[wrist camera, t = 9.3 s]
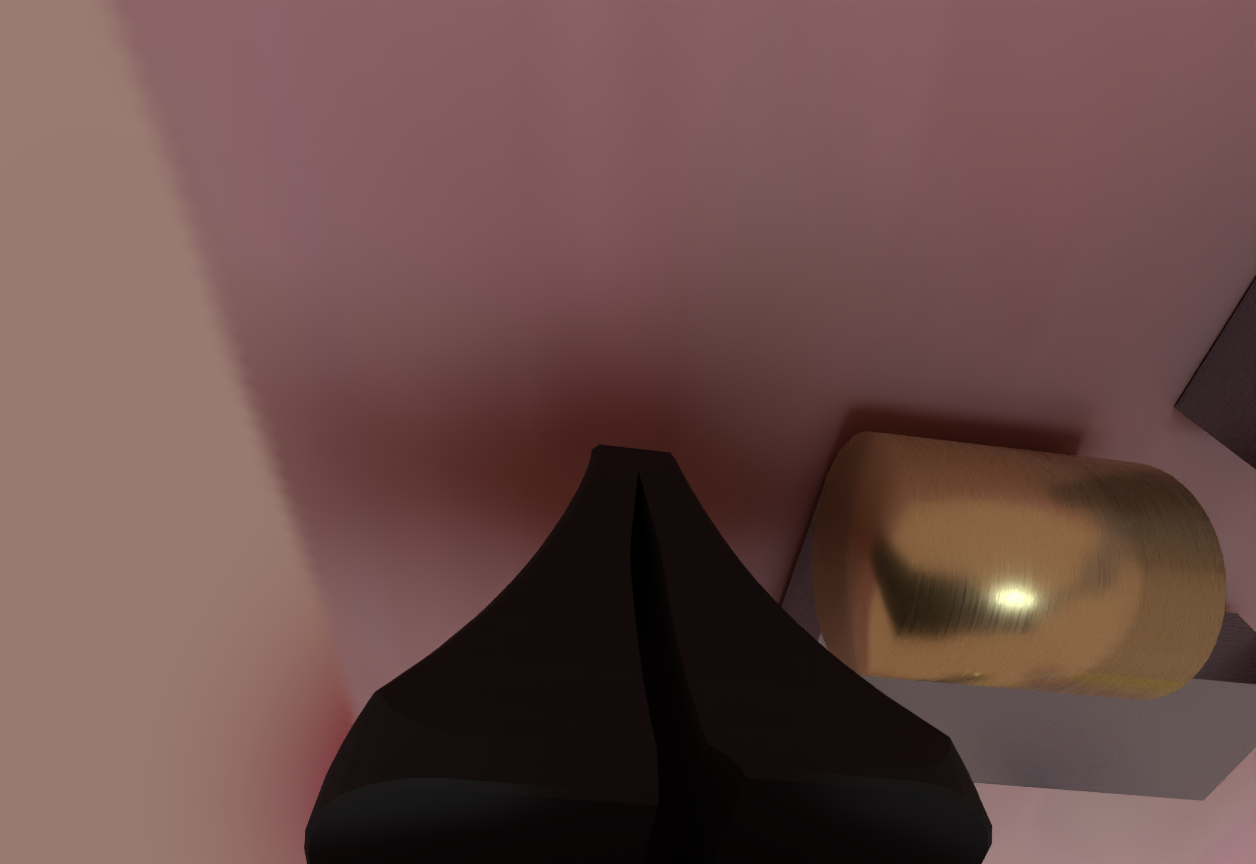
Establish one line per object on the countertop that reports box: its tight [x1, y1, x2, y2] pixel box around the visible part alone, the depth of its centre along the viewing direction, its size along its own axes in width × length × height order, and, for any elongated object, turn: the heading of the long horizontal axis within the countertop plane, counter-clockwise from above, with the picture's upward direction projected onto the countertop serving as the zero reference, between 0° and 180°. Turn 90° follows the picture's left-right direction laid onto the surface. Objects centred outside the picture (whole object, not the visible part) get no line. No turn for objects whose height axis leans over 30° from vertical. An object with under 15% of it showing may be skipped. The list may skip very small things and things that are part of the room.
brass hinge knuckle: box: [781, 431, 1256, 800], centre depth 13 cm, size 10×8×4 cm
